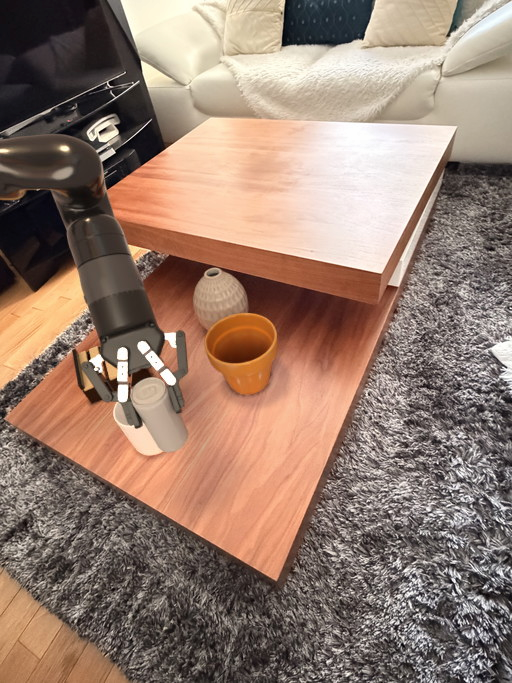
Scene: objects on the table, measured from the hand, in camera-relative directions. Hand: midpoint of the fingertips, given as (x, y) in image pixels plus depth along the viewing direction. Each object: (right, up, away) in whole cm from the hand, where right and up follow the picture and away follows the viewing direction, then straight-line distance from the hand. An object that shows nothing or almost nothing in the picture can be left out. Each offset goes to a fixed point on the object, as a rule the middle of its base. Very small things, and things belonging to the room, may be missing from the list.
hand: (159, 419), depth 51 cm
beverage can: (0, -5, +7) cm, 9 cm away
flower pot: (+11, +2, +33) cm, 35 cm away
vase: (+5, +14, +46) cm, 48 cm away
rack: (-20, +3, +40) cm, 44 cm away
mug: (-9, -8, +27) cm, 29 cm away
